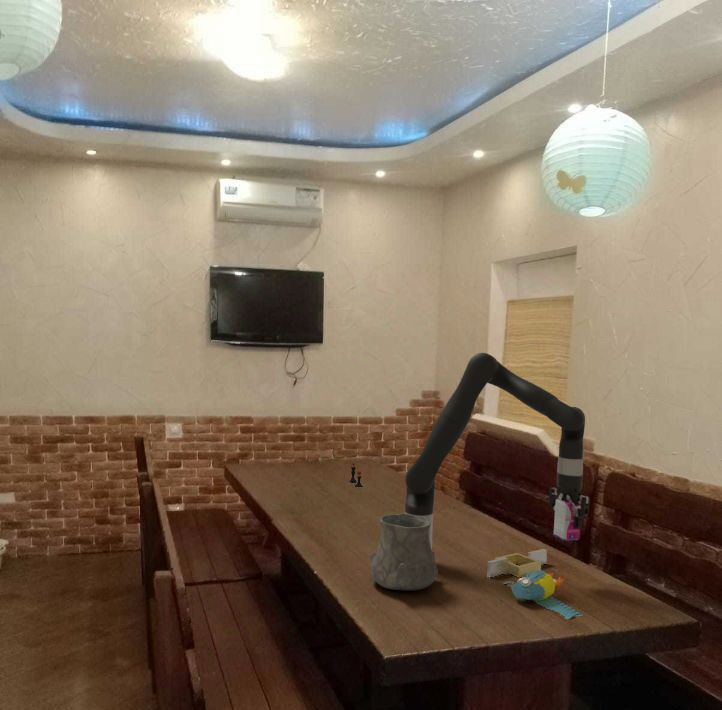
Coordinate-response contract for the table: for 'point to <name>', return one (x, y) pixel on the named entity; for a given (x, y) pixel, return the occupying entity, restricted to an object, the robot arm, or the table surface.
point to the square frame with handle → (509, 563)
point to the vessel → (404, 553)
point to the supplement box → (565, 521)
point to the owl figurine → (542, 592)
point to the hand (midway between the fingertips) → (567, 525)
